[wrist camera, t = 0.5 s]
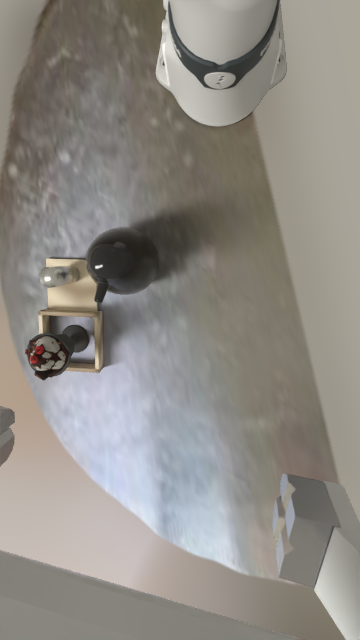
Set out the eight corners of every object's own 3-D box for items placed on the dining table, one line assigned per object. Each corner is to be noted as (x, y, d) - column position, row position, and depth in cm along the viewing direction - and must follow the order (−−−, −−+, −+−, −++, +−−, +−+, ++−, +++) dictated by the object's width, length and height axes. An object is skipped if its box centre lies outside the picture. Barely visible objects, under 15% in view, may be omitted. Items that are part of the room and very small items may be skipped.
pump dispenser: (96, 283, 57) (55, 293, 42) (109, 222, 55) (71, 210, 40) (153, 299, 57) (132, 315, 42) (169, 238, 55) (152, 232, 40)
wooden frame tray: (43, 258, 57) (14, 259, 49) (101, 260, 56) (82, 261, 48) (48, 364, 61) (22, 381, 53) (103, 367, 60) (86, 385, 52)
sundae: (72, 312, 59) (26, 331, 44) (100, 339, 59) (64, 366, 44) (49, 338, 60) (-4, 365, 45) (77, 363, 60) (33, 399, 46)
